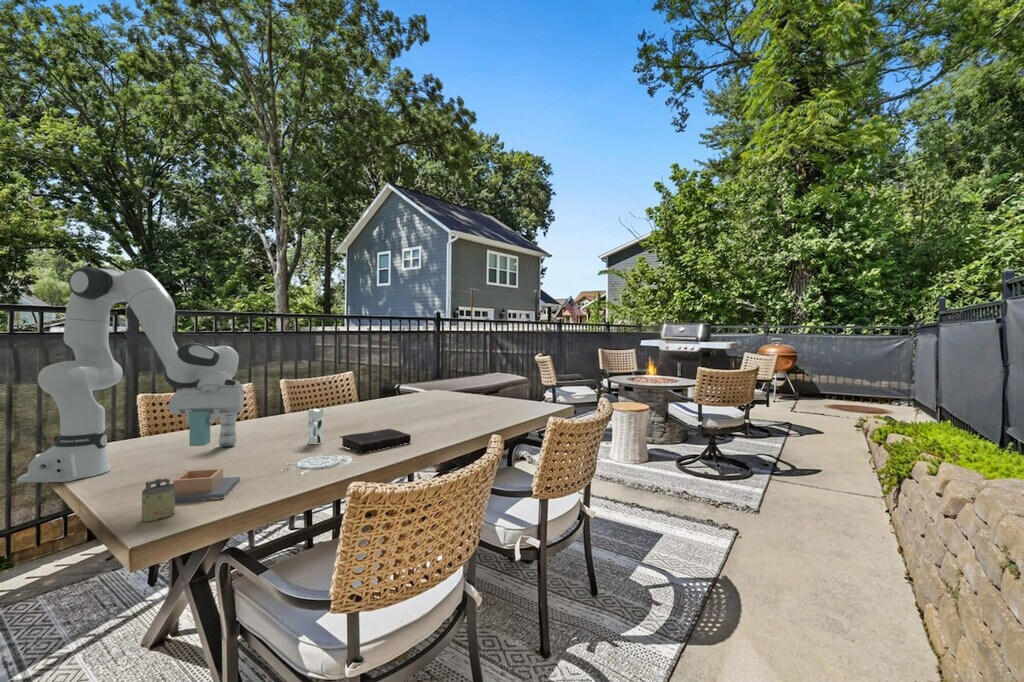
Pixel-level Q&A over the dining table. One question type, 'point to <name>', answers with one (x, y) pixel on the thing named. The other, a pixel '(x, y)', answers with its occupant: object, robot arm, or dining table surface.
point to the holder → (203, 485)
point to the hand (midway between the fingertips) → (199, 423)
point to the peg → (199, 428)
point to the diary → (375, 440)
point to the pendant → (321, 462)
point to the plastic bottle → (227, 429)
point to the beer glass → (315, 425)
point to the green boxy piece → (158, 500)
